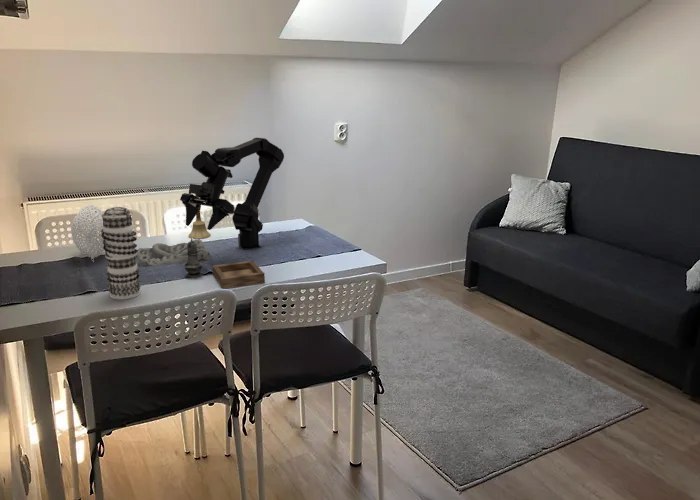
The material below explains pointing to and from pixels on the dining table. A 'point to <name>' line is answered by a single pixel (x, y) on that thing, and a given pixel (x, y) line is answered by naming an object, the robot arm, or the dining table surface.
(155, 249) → the wall plaque
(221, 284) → the walnut tray
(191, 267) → the stone chess piece
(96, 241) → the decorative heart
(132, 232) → the decorative candle
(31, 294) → the dining table surface
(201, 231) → the hand bell
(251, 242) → the robot arm
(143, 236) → the dining table surface
